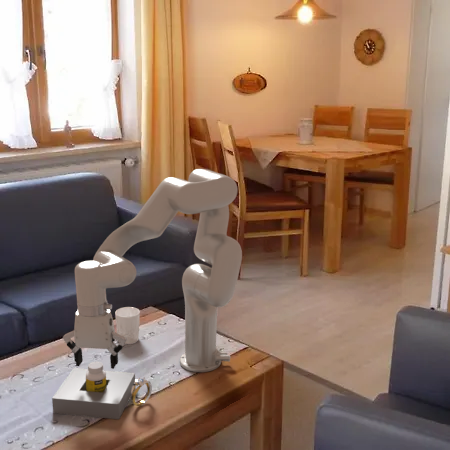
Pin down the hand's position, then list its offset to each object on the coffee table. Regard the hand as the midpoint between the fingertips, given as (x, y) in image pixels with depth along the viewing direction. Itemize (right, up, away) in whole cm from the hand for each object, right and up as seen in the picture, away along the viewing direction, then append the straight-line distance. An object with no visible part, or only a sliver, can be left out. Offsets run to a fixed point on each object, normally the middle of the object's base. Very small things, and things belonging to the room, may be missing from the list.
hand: (96, 365), depth 171 cm
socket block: (-1, -10, +3) cm, 10 cm away
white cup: (+3, 0, +37) cm, 37 cm away
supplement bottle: (-1, -9, +2) cm, 10 cm away
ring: (+12, -11, +1) cm, 16 cm away
